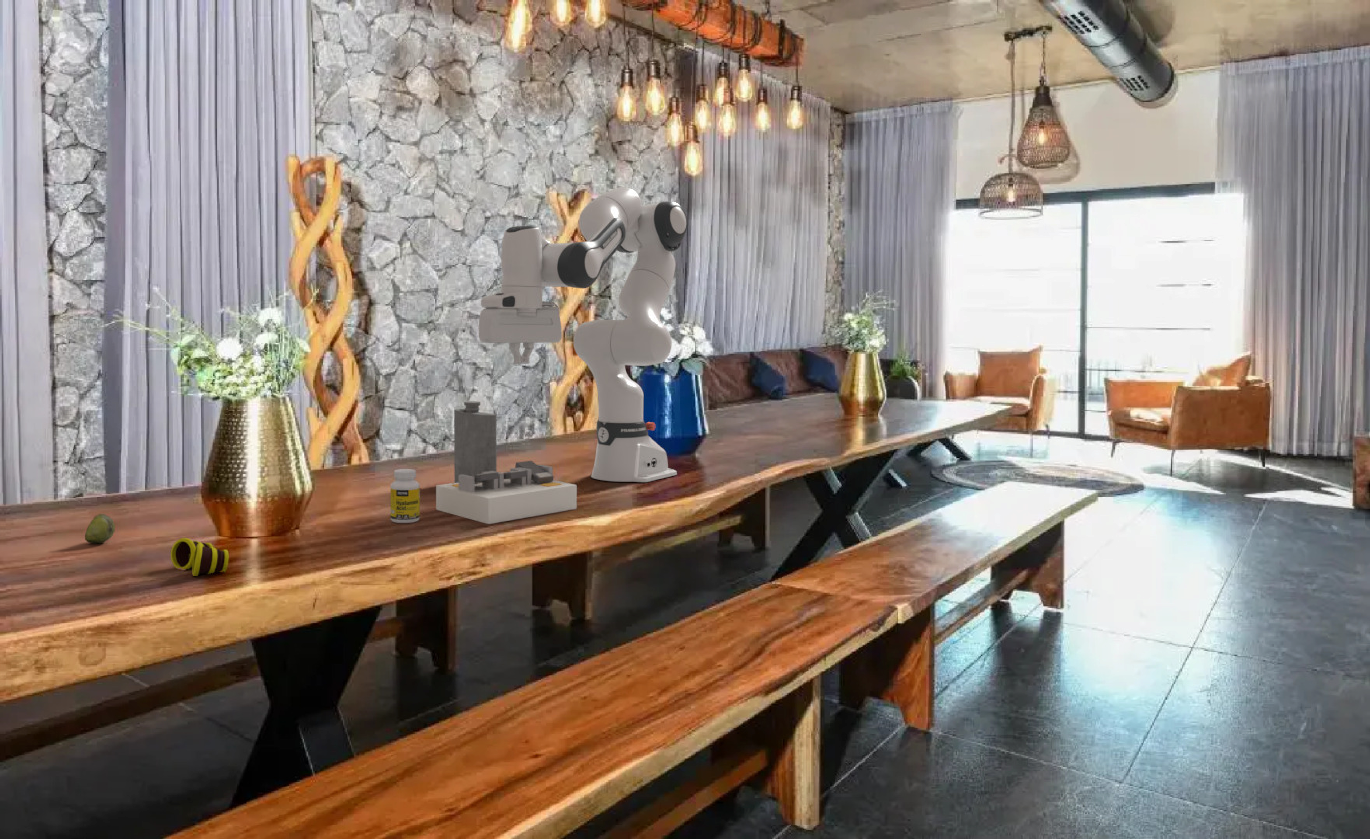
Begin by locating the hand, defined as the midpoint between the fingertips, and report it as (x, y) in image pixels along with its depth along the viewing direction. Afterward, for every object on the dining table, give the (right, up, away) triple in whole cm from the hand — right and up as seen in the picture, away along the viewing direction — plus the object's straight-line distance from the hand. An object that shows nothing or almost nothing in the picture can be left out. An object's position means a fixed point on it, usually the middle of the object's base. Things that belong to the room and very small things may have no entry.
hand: (521, 363), depth 209 cm
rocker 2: (-1, -24, -14) cm, 27 cm away
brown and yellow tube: (-38, -36, -63) cm, 82 cm away
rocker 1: (-5, -24, -19) cm, 31 cm away
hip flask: (-13, -28, +11) cm, 33 cm away
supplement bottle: (-18, -32, -26) cm, 45 cm away
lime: (-63, -33, -48) cm, 86 cm away
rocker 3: (+4, -23, -9) cm, 25 cm away
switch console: (-1, -31, -13) cm, 33 cm away
